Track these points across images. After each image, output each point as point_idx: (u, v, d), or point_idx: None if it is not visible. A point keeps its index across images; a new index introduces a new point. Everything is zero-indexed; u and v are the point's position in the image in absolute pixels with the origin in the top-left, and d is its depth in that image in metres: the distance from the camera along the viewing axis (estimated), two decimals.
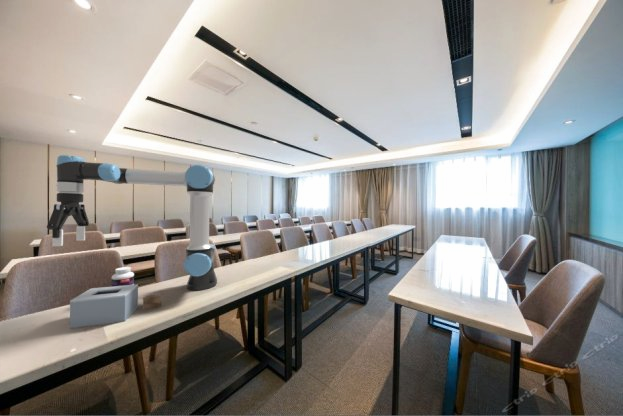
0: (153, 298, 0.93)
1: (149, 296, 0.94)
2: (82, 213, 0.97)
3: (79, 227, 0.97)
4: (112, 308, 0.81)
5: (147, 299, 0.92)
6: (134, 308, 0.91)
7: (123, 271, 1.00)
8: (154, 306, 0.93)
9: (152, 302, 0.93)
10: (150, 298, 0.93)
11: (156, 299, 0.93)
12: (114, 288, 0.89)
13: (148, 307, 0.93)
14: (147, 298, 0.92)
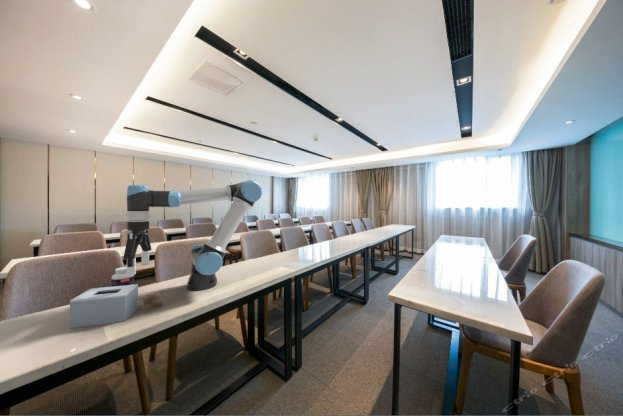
0: (153, 298, 0.93)
1: (149, 296, 0.94)
2: (146, 238, 1.00)
3: (144, 252, 1.00)
4: (112, 308, 0.81)
5: (147, 299, 0.92)
6: (134, 308, 0.91)
7: (123, 271, 1.00)
8: (154, 306, 0.93)
9: (152, 302, 0.93)
10: (150, 298, 0.93)
11: (156, 299, 0.93)
12: (114, 288, 0.89)
13: (148, 307, 0.93)
14: (147, 298, 0.92)
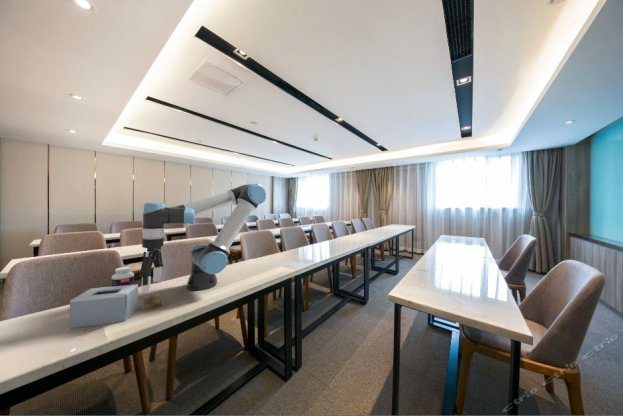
0: (153, 298, 0.93)
1: (149, 296, 0.94)
2: None
3: (156, 268, 1.00)
4: (112, 308, 0.81)
5: (147, 299, 0.92)
6: (134, 308, 0.91)
7: (123, 271, 1.00)
8: (154, 306, 0.93)
9: (152, 302, 0.93)
10: (150, 298, 0.93)
11: (156, 299, 0.93)
12: (114, 288, 0.89)
13: (148, 307, 0.93)
14: (147, 298, 0.92)
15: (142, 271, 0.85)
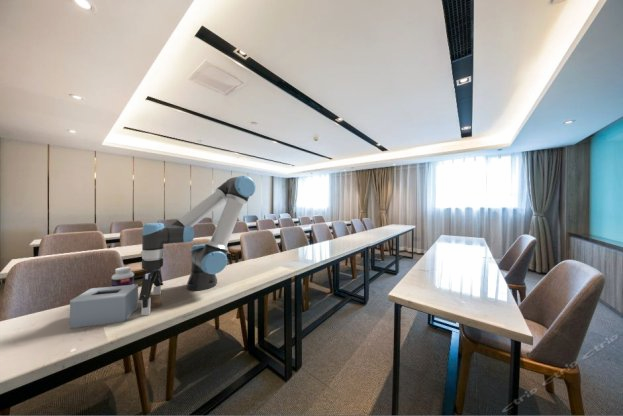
0: (153, 298, 0.93)
1: None
2: (158, 274, 1.00)
3: (156, 288, 1.00)
4: (112, 308, 0.81)
5: None
6: (134, 308, 0.91)
7: (123, 271, 1.00)
8: (154, 306, 0.93)
9: (152, 302, 0.93)
10: (150, 298, 0.93)
11: (156, 299, 0.93)
12: (114, 288, 0.89)
13: None
14: None
15: (142, 294, 0.85)
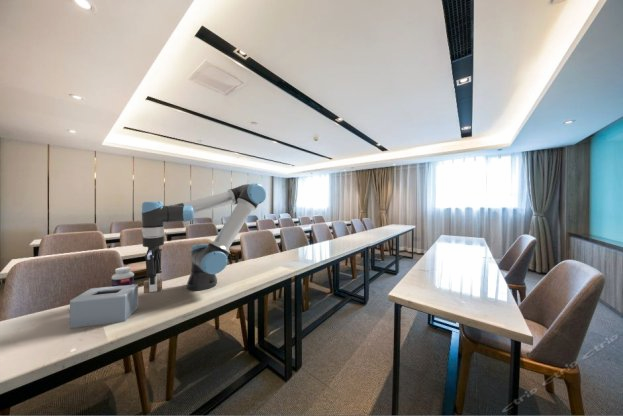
0: None
1: None
2: (158, 257, 0.98)
3: None
4: (112, 308, 0.81)
5: (147, 283, 0.92)
6: (134, 308, 0.91)
7: (123, 271, 1.00)
8: None
9: None
10: None
11: (157, 283, 0.94)
12: (114, 288, 0.89)
13: None
14: (147, 282, 0.93)
15: (148, 273, 0.89)
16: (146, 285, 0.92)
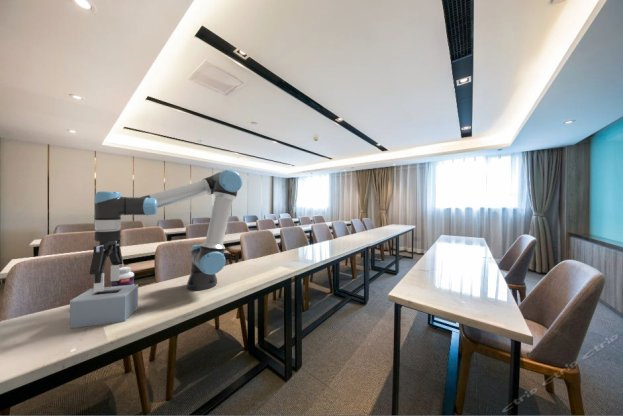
0: None
1: None
2: (117, 250, 0.91)
3: (113, 266, 0.90)
4: (112, 308, 0.81)
5: None
6: (134, 308, 0.91)
7: (123, 271, 1.00)
8: None
9: None
10: None
11: None
12: (114, 288, 0.89)
13: None
14: None
15: (92, 268, 0.77)
16: None
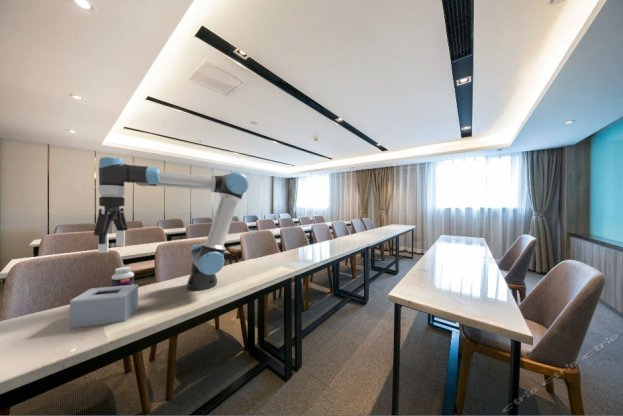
0: None
1: None
2: (121, 217, 0.93)
3: (119, 232, 0.93)
4: (112, 308, 0.81)
5: None
6: (134, 308, 0.91)
7: (123, 271, 1.00)
8: None
9: None
10: None
11: None
12: (114, 288, 0.89)
13: None
14: None
15: (97, 228, 0.78)
16: None
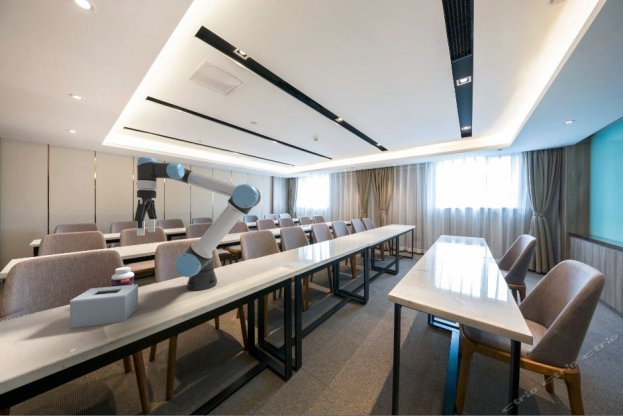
0: None
1: None
2: (152, 208, 1.11)
3: (150, 220, 1.10)
4: (112, 308, 0.81)
5: None
6: (134, 308, 0.91)
7: (123, 271, 1.00)
8: None
9: None
10: None
11: None
12: (114, 288, 0.89)
13: None
14: None
15: (137, 215, 0.95)
16: None
